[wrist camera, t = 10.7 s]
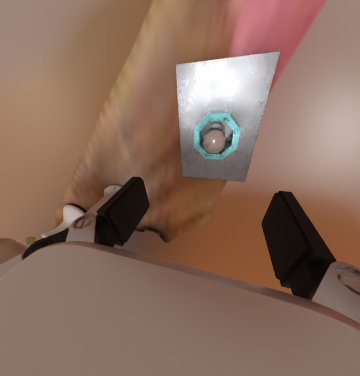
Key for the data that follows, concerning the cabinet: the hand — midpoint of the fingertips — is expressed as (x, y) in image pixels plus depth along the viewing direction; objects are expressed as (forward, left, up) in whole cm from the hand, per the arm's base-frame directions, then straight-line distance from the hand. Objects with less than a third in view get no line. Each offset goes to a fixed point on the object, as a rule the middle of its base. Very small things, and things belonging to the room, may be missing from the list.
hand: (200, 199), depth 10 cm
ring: (0, 0, -19) cm, 19 cm away
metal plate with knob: (0, 0, -20) cm, 20 cm away
